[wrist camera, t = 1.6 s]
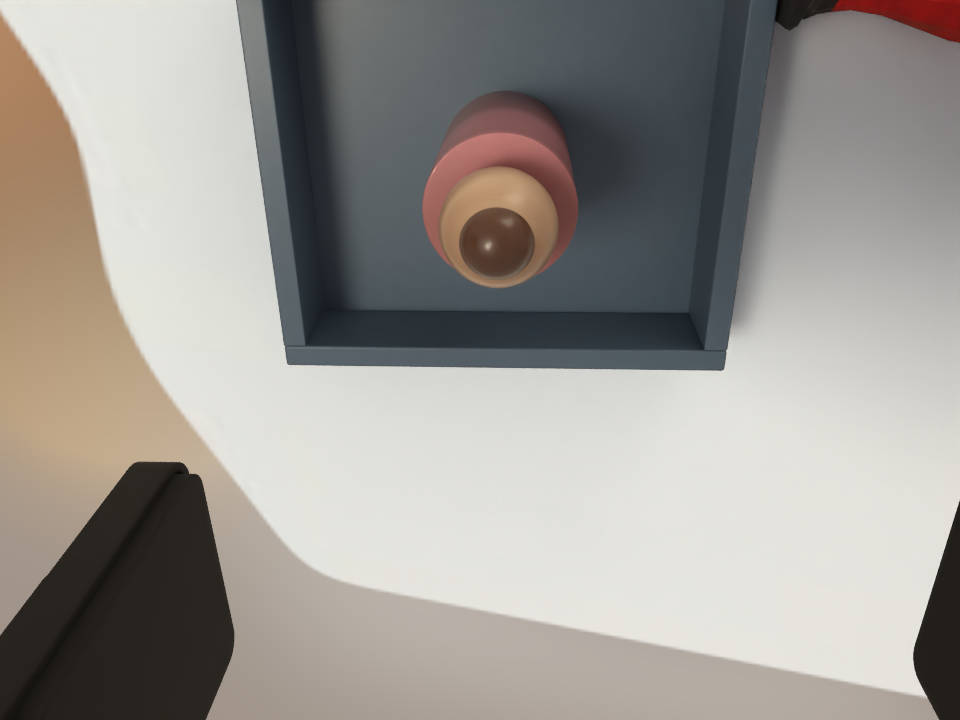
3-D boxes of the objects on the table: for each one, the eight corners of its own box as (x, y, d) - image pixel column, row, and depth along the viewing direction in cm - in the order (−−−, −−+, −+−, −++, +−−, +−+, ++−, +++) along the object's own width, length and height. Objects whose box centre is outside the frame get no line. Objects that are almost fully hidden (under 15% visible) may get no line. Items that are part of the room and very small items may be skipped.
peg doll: (440, 90, 28) (401, 164, 19) (570, 90, 27) (591, 164, 19) (444, 215, 30) (411, 334, 21) (565, 216, 30) (582, 336, 21)
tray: (264, -59, 26) (227, -58, 23) (754, -66, 25) (788, -66, 22) (310, 322, 33) (286, 365, 29) (704, 326, 32) (724, 371, 29)
